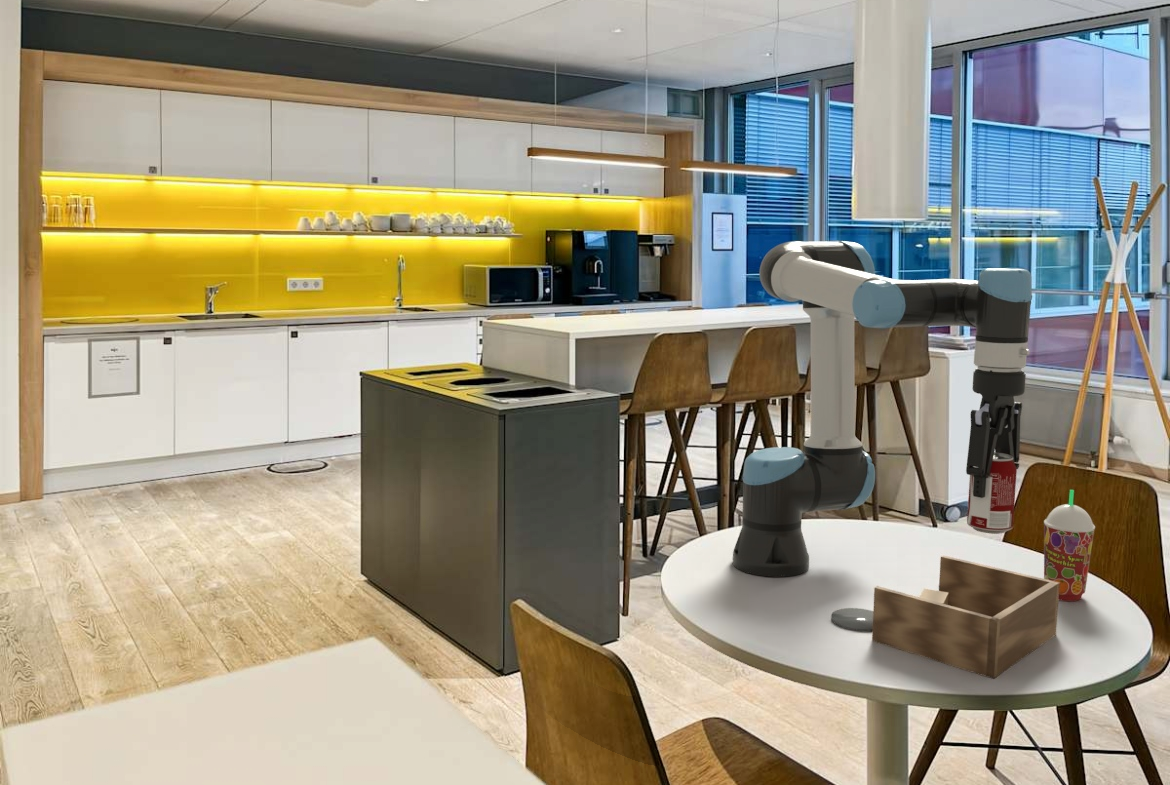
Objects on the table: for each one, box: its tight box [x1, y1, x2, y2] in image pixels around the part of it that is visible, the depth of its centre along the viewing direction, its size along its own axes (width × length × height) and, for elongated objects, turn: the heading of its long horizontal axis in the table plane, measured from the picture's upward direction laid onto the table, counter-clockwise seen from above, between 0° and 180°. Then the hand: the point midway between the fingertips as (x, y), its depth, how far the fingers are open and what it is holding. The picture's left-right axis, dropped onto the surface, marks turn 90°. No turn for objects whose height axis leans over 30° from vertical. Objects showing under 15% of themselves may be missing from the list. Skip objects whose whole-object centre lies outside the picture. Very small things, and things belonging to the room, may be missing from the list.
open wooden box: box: [871, 555, 1060, 679], centre depth 161 cm, size 20×24×9 cm
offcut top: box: [919, 588, 949, 605], centre depth 165 cm, size 4×6×3 cm, turn 152°
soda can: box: [966, 451, 1018, 535], centre depth 156 cm, size 7×7×12 cm
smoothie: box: [1043, 489, 1096, 602], centre depth 179 cm, size 8×8×20 cm
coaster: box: [830, 607, 873, 632], centre depth 169 cm, size 9×9×1 cm
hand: (990, 511), depth 156 cm, fingers closed on soda can, 7 cm apart
